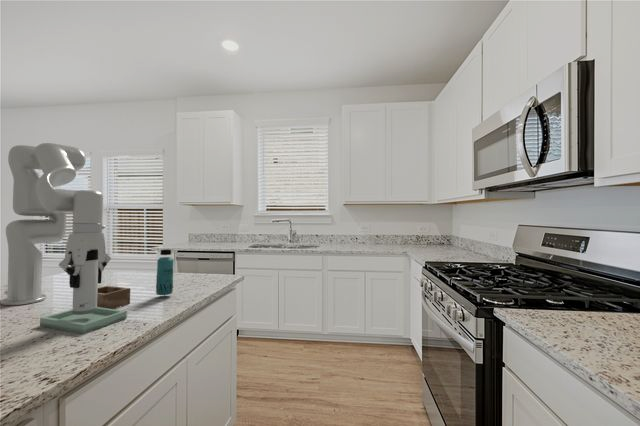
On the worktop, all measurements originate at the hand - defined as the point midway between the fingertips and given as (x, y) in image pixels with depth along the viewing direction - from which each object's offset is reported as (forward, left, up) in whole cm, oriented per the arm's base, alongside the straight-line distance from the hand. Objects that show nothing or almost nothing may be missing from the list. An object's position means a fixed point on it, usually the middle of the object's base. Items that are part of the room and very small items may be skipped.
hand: (85, 284), depth 98 cm
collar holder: (-10, +15, -12) cm, 22 cm away
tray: (0, 0, -12) cm, 12 cm away
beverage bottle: (0, +33, -12) cm, 35 cm away
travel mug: (0, 0, -9) cm, 9 cm away
